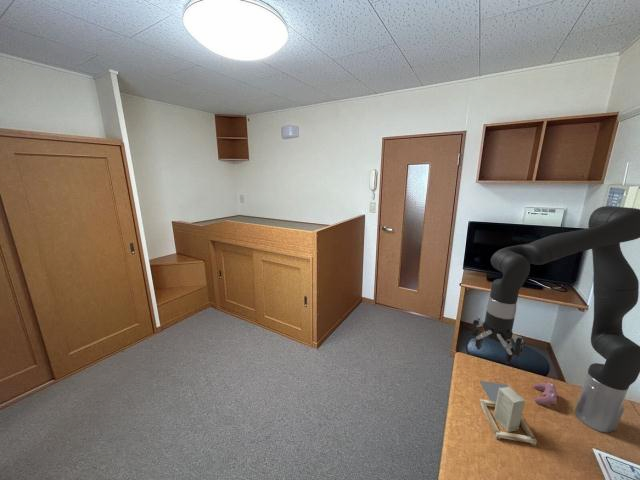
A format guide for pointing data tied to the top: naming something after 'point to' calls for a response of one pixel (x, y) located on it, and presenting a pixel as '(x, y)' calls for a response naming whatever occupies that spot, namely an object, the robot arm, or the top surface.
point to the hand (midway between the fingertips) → (492, 355)
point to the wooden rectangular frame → (499, 434)
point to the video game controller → (546, 393)
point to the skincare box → (509, 408)
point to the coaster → (492, 389)
